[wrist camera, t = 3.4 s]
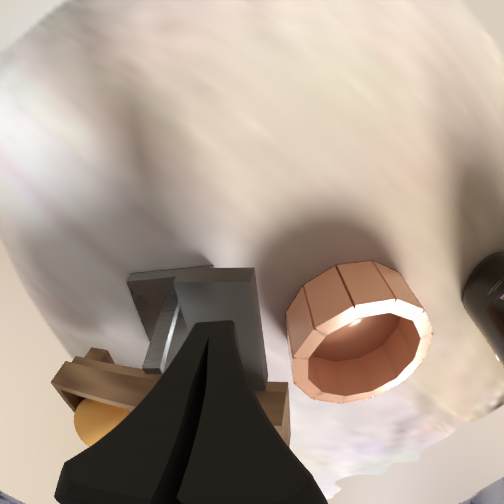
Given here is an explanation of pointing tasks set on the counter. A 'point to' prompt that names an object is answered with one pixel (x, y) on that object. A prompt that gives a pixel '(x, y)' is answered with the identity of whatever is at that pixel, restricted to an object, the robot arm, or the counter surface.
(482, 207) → the counter surface
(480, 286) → the supplement bottle
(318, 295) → the cup
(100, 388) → the brown tray
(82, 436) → the ball
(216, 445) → the robot arm
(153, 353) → the trough stand
